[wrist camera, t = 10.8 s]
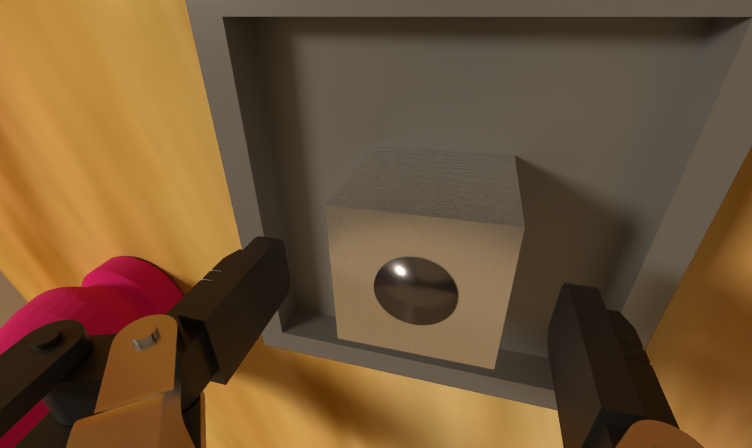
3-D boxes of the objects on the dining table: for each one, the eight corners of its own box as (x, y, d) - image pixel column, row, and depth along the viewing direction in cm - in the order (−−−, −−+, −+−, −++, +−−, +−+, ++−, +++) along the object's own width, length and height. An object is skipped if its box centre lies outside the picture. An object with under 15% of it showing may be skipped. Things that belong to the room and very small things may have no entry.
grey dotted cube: (376, 254, 17) (337, 339, 12) (374, 144, 14) (324, 205, 10) (493, 270, 15) (494, 370, 11) (514, 154, 13) (525, 228, 9)
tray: (286, 311, 21) (264, 344, 19) (227, -25, 13) (178, -30, 11) (593, 372, 18) (606, 421, 16) (776, -40, 9) (855, -52, 7)
